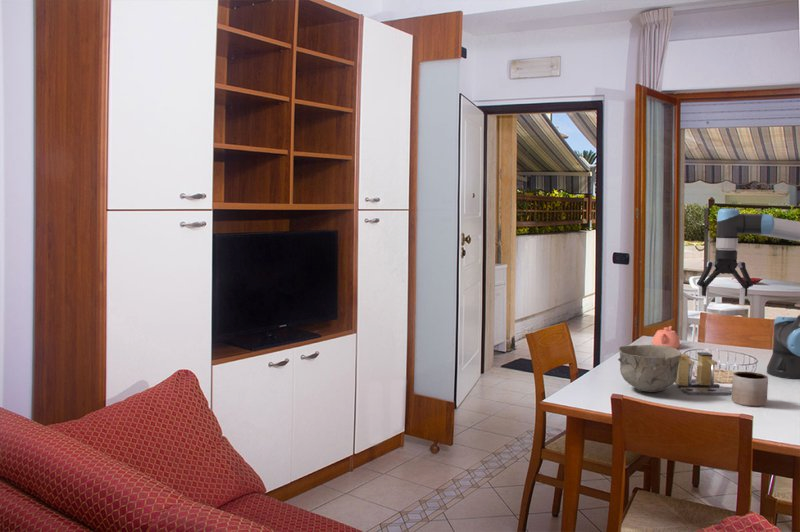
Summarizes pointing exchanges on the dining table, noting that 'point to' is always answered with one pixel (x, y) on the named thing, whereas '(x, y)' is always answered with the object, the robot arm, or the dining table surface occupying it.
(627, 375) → the bowl
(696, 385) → the rail
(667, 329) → the teapot
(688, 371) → the fixed leg
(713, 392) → the hole plate
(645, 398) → the dining table surface
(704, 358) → the sliding leg
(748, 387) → the planter
